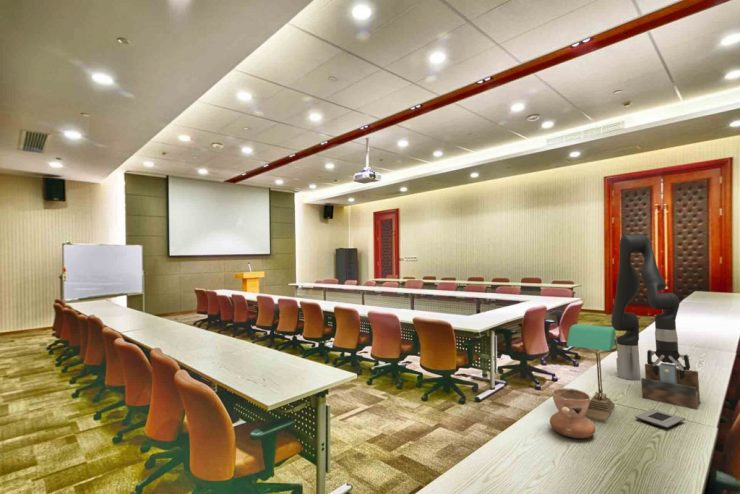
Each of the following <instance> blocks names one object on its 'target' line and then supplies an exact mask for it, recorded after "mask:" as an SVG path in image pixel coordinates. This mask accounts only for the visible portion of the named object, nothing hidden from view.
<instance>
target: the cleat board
mask: <svg viewBox="0 0 740 494" xmlns="http://www.w3.org/2000/svg"><path fill="white" fill-rule="evenodd" d="M659 365H660V364H657V367H658V375H655V373H653V366H652V365H650V364H648V363H645V364H644V373H645V377H642V378H641V377H640V378H641V379H640V382H641V395H642V399H645V400H649V401H654V402H659V403H664V404H670V405H673V406H678V407H684V408H687V409H694V410H697V409H699V408H698V407H699V405H700V404H701V398H700V396H701V395H700V384H699V382H700V381H699V380H700V379H699V371H697V370H691V369H689V370H685V377H684V378H683V379H680V369H679V368H678V367H676V368H677V382H678V384H674V383H668V382H663V381H660V368H659Z"/></svg>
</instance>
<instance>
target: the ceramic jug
mask: <svg viewBox="0 0 740 494" xmlns="http://www.w3.org/2000/svg"><path fill="white" fill-rule="evenodd" d="M551 395H552V400H553V402H554V406H555V407H556V409H557V412H555V413H553V414H552V415H551V416H550V418H549V424H550V426H551V428H552V430H554V431H555V432H556V433H558V434H560V435H562V436H565V437H568V438H571V439H587V438H591V437H592V436H593V435H594V434H595V433H596V426H595V424H594V422H593V421H592V420H589V419H588V418H587V417H585V414H586V412H587V409H588V406H589V403H590V400H591V396H590V394H588V393H587V392H585V391H583V390H578V389H576V388H570V387H569V388H568V387H560V388H559V387H557V388H553V389H552V391H551Z"/></svg>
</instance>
